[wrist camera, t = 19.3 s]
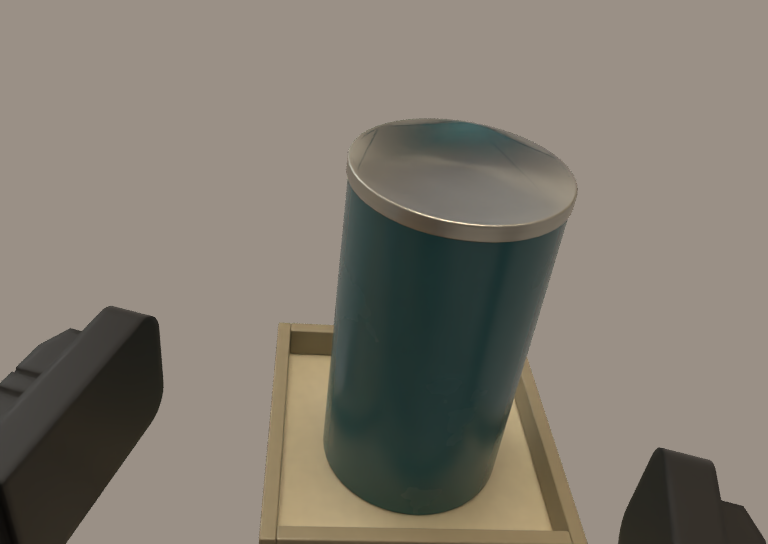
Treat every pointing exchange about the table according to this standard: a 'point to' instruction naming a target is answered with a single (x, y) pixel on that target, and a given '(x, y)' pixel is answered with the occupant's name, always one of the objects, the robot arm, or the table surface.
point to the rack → (383, 527)
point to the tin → (437, 305)
